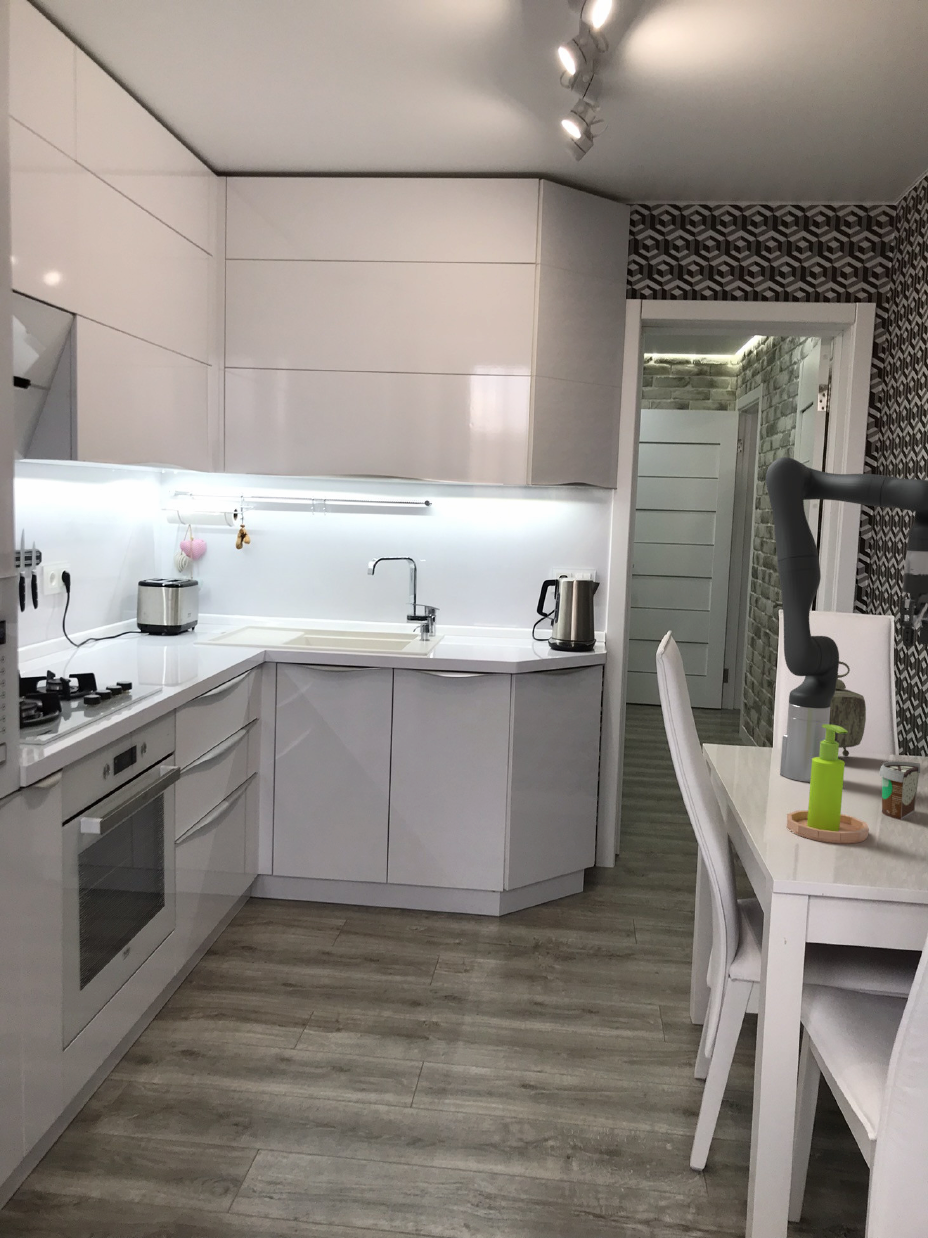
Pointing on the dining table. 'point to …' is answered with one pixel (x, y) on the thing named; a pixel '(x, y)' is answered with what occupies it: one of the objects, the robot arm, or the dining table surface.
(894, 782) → the food container
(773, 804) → the dining table surface
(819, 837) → the terracotta dish
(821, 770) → the soap dispenser
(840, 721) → the tabletop clock
